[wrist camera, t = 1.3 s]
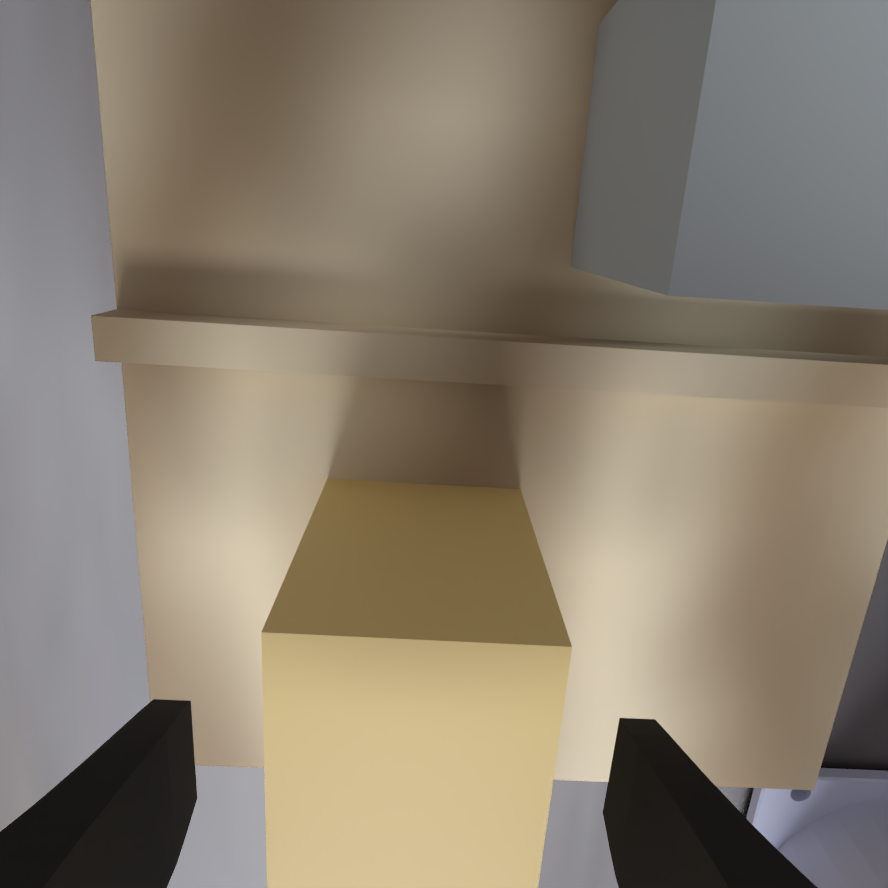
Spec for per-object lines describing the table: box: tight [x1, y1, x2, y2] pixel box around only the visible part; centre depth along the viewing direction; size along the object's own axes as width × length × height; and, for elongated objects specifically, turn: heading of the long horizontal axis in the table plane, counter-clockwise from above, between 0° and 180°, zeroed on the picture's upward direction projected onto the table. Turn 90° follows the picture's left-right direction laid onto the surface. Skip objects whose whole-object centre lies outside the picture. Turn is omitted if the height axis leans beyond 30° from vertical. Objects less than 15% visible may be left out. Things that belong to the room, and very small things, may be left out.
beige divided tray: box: [91, 0, 888, 790], centre depth 13 cm, size 16×18×2 cm
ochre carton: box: [261, 479, 572, 888], centre depth 12 cm, size 7×4×6 cm, turn 176°
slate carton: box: [571, 0, 888, 310], centre depth 9 cm, size 7×4×6 cm, turn 86°
